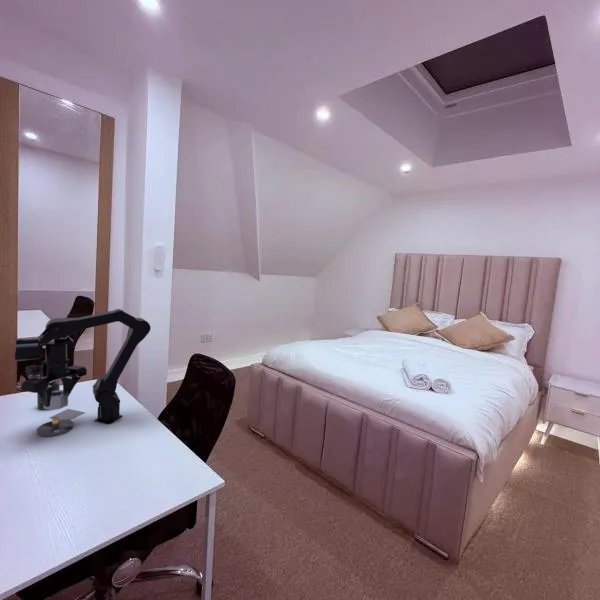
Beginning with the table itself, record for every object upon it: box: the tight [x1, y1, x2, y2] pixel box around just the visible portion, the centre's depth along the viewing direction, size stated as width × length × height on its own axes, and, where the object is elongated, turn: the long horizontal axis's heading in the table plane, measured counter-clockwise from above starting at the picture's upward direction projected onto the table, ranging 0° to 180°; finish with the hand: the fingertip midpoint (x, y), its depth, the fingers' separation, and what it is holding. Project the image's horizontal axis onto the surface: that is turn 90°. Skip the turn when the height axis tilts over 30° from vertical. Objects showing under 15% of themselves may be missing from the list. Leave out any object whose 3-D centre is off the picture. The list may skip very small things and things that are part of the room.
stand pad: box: [48, 408, 87, 421], centre depth 120 cm, size 8×8×1 cm
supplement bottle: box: [36, 377, 61, 411], centre depth 124 cm, size 7×7×12 cm
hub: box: [36, 417, 75, 438], centre depth 110 cm, size 10×10×4 cm
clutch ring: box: [44, 389, 69, 411], centre depth 109 cm, size 6×6×4 cm
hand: (56, 402), depth 109 cm, fingers closed on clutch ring, 6 cm apart
